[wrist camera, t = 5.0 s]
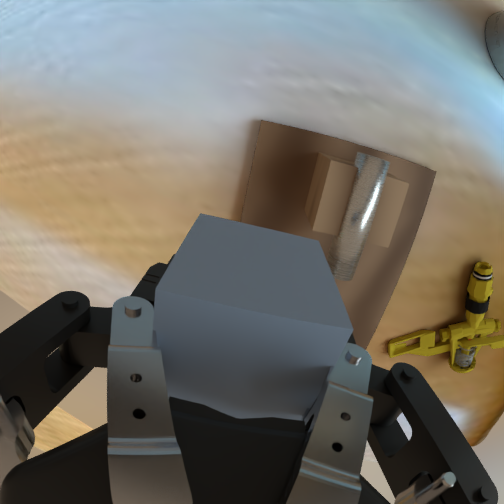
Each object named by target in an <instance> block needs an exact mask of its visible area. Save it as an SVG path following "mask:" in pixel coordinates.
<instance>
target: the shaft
mask: <svg viewBox="0 0 504 504" xmlns="http://www.w3.org/2000/svg"><path fill="white" fill-rule="evenodd" d="M389 165H390V162H388V161H385V160H383V159H380V158H377V157H374V156H371V155H367V154H364V153H360V152H357V155H356V159H355V163H354V166H355V167H358V169H357V173H356V176H355V180H354V184H353V187H352V191H351V194H350V198H349V201H348V205H347V208H346V212H345V215H344V218H343V222H342V225H341V228H340V231H339V235H338V236H336V235H334V236H333V240H332V243H331V246H330V249H329V252H328V255H327V259H326V260H327V262H328V265H329V267H330V270H331V272H332V275H333V277H334V278H335V279H338V280H341V281H350V280H352V279H353V277H354V274H355V271H356V269H357V266H358V263H359V260H360V257H361V255H362V252H363V249H364V246H365V243H366V240H367V237H368V234H369V231H370V228H371V225H372V222H373V219H374V216H375V213H376V209H377V206H378V203H379V200H380V196H381V193H382V190H383V186H384V183H385V179H386V176H387V172H388V169H389Z"/></svg>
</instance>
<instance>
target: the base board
mask: <svg viewBox="0 0 504 504" xmlns="http://www.w3.org/2000/svg"><path fill="white" fill-rule="evenodd" d="M357 152H360V153H364V154H367V155H371V156H374V157H377V158H380V159H383V160H385V161H388V162H390V165H389V169H388V172H387V176H386V179H385V183H384V186H383V190H382V193H381V196H380V200H379V203H378V206H377V209H376V213H375V216H374V219H373V222H372V225H371V228H370V231H369V234H368V237H367V240H366V243H365V246H364V249H363V252H362V255H361V257H360V260H359V263H358V266H357V269H356V271H355V274H354V277H353V279H352V280H350V281H341V280H338V279H335V278H334V280H335V282H336V285H337V287H338V290H339V292H340V295H341V298H342V300H343V303H344V305H345V308H346V311H347V313H348V316H349V319H350V321H351V324H352V327H353V332H352V333H353V336H354V339H355V342H356V345H358V346H360V347H362V348H363V349H365V350H366V348H367V346H368V344H369V342H370V340H371V338H372V336H373V334H374V332H375V330H376V328H377V326H378V324H379V322H380V320H381V318H382V316H383V313H384V311H385V309H386V307H387V305H388V302H389V300H390V298H391V296H392V293H393V291H394V289H395V287H396V284H397V282H398V280H399V277H400V275H401V272H402V270H403V267H404V265H405V262H406V260H407V257H408V255H409V252H410V250H411V247H412V244H413V242H414V239H415V236H416V233H417V231H418V228H419V225H420V222H421V219H422V216H423V213H424V210H425V207H426V204H427V201H428V198H429V195H430V192H431V188H432V185H433V182H434V178H435V175H436V171H433V170H431V169H428V168H426V167H423V166H420V165H418V164H415V163H412V162H410V161H407V160H404V159H401V158H398V157H395V156H392V155H389V154H387V153H383V152H380V151H377V150H374V149H371V148H368V147H365V146H361V145H358V144H355V143H351V142H348V141H345V140H341V139H338V138H334V137H330V136H327V135H323V134H319V133H315V132H311V131H307V130H303V129H299V128H295V127H291V126H286V125H282V124H277V123H273V122H268V121H263V120H261V125H260V130H259V134H258V139H257V144H256V149H255V153H254V158H253V163H252V168H251V173H250V177H249V182H248V187H247V192H246V197H245V202H244V207H243V212H242V217H241V223H246V224H250V225H254V226H259V227H263V228H267V229H272V230H276V231H280V232H284V233H288V234H293V235H297V236H301V237H305V238H309V239H313V240H318V241H319V243H320V245H321V248H322V250H323V252H324V255H325V257H326V259H327V255H328V252H329V249H330V246H331V243H332V240H333V236H334V235H336V236H338V235H339V231H340V228H341V225H342V222H343V218H344V215H345V212H346V208H347V205H348V201H349V198H350V194H351V191H352V187H353V184H354V180H355V176H356V173H357V169H358V167H355V166H354V163H355V159H356V155H357Z"/></svg>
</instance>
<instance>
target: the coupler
mask: <svg viewBox="0 0 504 504" xmlns="http://www.w3.org/2000/svg"><path fill="white" fill-rule="evenodd" d="M153 330H154V331H156V336H157V345H158V346H160V348H161V353H162V361H163V368H164V374H165V381H166V387H167V393H168V399H169V397H170V396H171V397H175V398H179V399H183V400H187V401H191V402H195V403H200V404H204V405H206V406H208V407H211V408H213V409H215V410H218V411H220V412H222V413H225V414H227V415H230V416H232V417H235V418H240V419H244V418H265V417H276V418H284V419H292V420H301V418H302V416H303V414H304V412H305V411H306V409H307V408H311V407H312V405H313V404H314V402H315V400H316V398H317V397H318V395H319V393H320V390H321V387H322V384H323V381H324V378H325V376H326V374H327V372H328V371H329V369H330V367H331V366H335V365H336V363H337V361H338V359H339V357H340V355H341V353H342V351H343V350H344V348H345V346H346V344H347V342H348V340H349V338H350V336H351V334H352V332H353V327H352V324H351V321H350V319H349V316H348V313H347V311H346V308H345V305H344V303H343V300H342V298H341V295H340V292H339V290H338V287H337V285H336V282H335V280H334V277H333V275H332V272H331V270H330V267H329V265H328V262H327V260H326V257H325V255H324V252H323V250H322V248H321V245H320V243H319V241H318V240H313V239H309V238H305V237H301V236H297V235H293V234H288V233H284V232H280V231H276V230H272V229H267V228H263V227H259V226H254V225H250V224H246V223H241V222H237V221H232V220H228V219H223V218H219V217H214V216H210V215H205V214H201V213H200V215H199V217H198V218H197V220H196V221H195V223H194V225H193V226H192V228H191V230H190V231H189V233H188V234H187V236H186V238H185V239H184V241H183V243H182V244H181V246H180V248H179V249H178V251H177V253H176V254H175V256H174V258H173V259H172V261H171V263H170V265H169V266H168V268H167V270H166V271H165V273H164V275H163V277H162V278H161V280H160V282H159V284H158V285H157V287H156V290H155V302H154V316H153Z"/></svg>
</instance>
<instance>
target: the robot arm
mask: <svg viewBox="0 0 504 504" xmlns="http://www.w3.org/2000/svg"><path fill="white" fill-rule="evenodd" d="M485 32H486V42H487V47H488V50H489V54H490V56H491V59H492V61H493V63H494V65H495V67H496V69H497V70H498V72H499V73H500V75H501V76H502V77H503V79H504V11H501V12H498V13H495V14H493V15H491V16H490V18H489V19H488V21H487V23H486V30H485ZM174 256H175V254H174V255H173V256H172V258H171V259H170V261H169V262H168V264H164V263H160V262H159V263H157V264H155V265H153V266H151V267H150V268H149V269H148V271H147V272H146V275H144V277H143V278H142V280H141V281H140V282H139V284H138V285H137V287H136V288H135V290H134V291H133V293H132V294H131V295H130V296H127V297H123V298H120V299H118V300H117V301H116V302H115V303H114V304H113V307H111V308H102V307H90V301H89V299H88V297H87V296H86V295H84V294H82V293H80V292H76V291H65V292H61V293H59V294H57V295H55V296H54V297H52V298H51V299H49V300H48V301H46V302H45V303H43V304H42V305H40V306H39V307H37V308H36V309H34V310H33V311H32V312H30V313H29V314H27V315H26V316H24V317H23V318H22V319H20V320H19V321H17V322H16V323H14V324H13V325H12V326H10V327H9V328H7V329H6V330H4V331H3V332H2V333H0V504H390V503H389V502H388V501H387V500H386V499H385V498H384V497H383V496H382V495H381V494H380V493H379V492H378V491H377V490H376V489H375V488H374V487H373V486H372V485H371V484H370V483H369V482H368V481H366V479H365V478H364V477H362V476H361V474H360V471H361V467H362V462H363V457H364V452H365V447H366V442H367V440H368V443H369V445H370V447H371V449H372V451H373V453H374V455H375V457H376V459H377V461H378V463H379V465H380V467H381V469H382V471H383V473H384V475H385V478H386V480H387V482H388V484H389V486H390V488H391V490H392V493H393V495H394V497H395V499H396V500H395V504H497V502H498V493H497V489H496V487H495V485H494V483H493V482H492V480H491V478H490V477H489V475H488V473H487V472H486V470H485V469H484V467H483V465H482V464H481V462H480V460H479V459H478V457H477V456H476V454H475V452H474V451H473V449H472V448H471V446H470V445H469V443H468V442H467V440H466V438H465V437H464V435H463V434H462V432H461V431H460V429H459V428H458V426H457V425H456V423H455V422H454V420H453V419H452V417H451V416H450V414H449V413H448V412H447V410H446V409H445V407H444V406H443V404H442V403H441V401H440V400H439V398H438V397H437V396H436V394H435V393H434V391H433V390H432V388H431V387H430V386H429V384H428V383H427V381H426V380H425V379H424V377H423V376H422V374H421V373H420V372H419V371H418V370H417V369H416V368H415V367H413V366H411V365H409V364H407V363H396V364H394V365H393V367H392V368H391V370H390V371H389V370H386V369H383V368H380V367H378V366H375V365H373V364H372V359H371V356H370V355H369V353H368V352H367V351H366V350H365V349H363V348H362V347H360V346H358V345H356V342H355V339H354V336H353V333H352V334H351V336H350V338H349V340H348V342H347V344H346V346H345V348H344V350H343V351H342V353H341V355H340V357H339V359H338V361H337V363H336V365H335V366H331V367H330V369H329V371H328V372H327V374H326V376H325V378H324V381H323V384H322V387H321V390H320V393H319V395H318V397H317V398H316V400H315V402H314V404H313V405H312V407H311V408H307V409H306V411H305V412H304V414H303V416H302V418H301V420H292V419H284V418H276V417H265V418H244V419H240V418H235V417H232V416H230V415H227V414H225V413H222V412H220V411H218V410H215V409H213V408H211V407H208V406H206V405H204V404H200V403H195V402H191V401H187V400H183V399H179V398H175V397H171V396H170V397H169V399H168V393H167V387H166V381H165V374H164V368H163V361H162V353H161V348H160V346H158V345H157V336H156V331H154V330H153V316H154V302H155V290H156V287H157V285H158V284H159V282H160V280H161V278H162V277H163V275H164V273H165V271H166V270H167V268H168V266H169V265H170V263H171V261H172V259H173V258H174ZM58 347H59V348H58ZM56 348H58V349H57V350H55V349H56ZM54 350H55V351H54ZM53 351H54V352H53ZM51 352H53V353H52V354H51ZM50 354H51V355H50ZM48 355H49V356H48ZM94 367H104V368H107V421H108V422H107V423H106V424H104V425H102V426H100V427H98V428H96V429H94V430H92V431H90V432H88V433H86V434H84V435H82V436H80V437H77V438H75V439H73V440H71V441H69V442H67V443H65V444H62V445H60V446H58V447H56V448H54V449H51V450H49V451H47V452H45V453H43V454H40V455H38V456H35V457H33V458H31V459H28V460H27V457H28V455H29V454H30V451H31V449H32V447H33V445H34V442H35V435H34V431H33V429H34V428H35V427H36V426H37V425H38V424H39V423H40V422H41V421H42V420H43V419H44V418H45V417H46V416H47V415H48V414H49V413H50V412H51V411H52V410H53V409H54V408H55V407H56V406H57V404H59V403H60V401H61V400H62V399H63V398H64V397H65V396H66V395H67V394H68V393H69V392H70V391H71V390H72V389H73V388H74V387H75V386H76V385H77V384H78V383H79V382H80V381H81V380H82V379H83V378H84V377H85V376H86V375H87V374H88V373H89V372H90V371H91V370H92V369H93V368H94ZM402 412H403V414H404V416H405V417H406V419H407V421H408V422H409V424H410V426H411V428H412V437H411V439H410V440H409V441H408V439H407V437H406V435H405V433H404V432H403V430H402V428H401V426H400V425H399V423H398V421H397V417H398V416H399V415H400V414H401V413H402Z"/></svg>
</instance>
